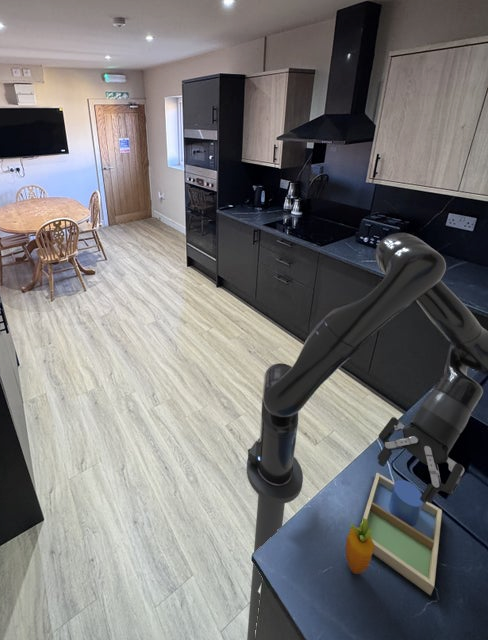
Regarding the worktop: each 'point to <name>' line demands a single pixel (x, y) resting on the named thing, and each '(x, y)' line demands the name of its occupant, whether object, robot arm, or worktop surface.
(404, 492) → the blue cylinder
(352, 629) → the worktop surface
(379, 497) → the sorting tray
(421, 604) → the worktop surface
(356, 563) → the carrot
